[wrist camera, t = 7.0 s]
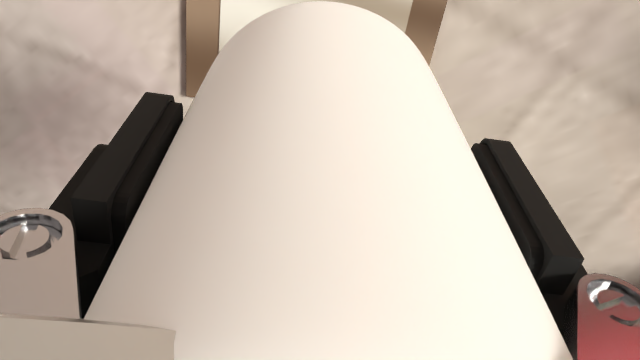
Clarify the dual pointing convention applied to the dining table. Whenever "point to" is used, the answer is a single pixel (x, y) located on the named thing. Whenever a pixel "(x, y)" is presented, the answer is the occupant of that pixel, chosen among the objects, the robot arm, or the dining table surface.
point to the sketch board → (250, 3)
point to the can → (325, 211)
